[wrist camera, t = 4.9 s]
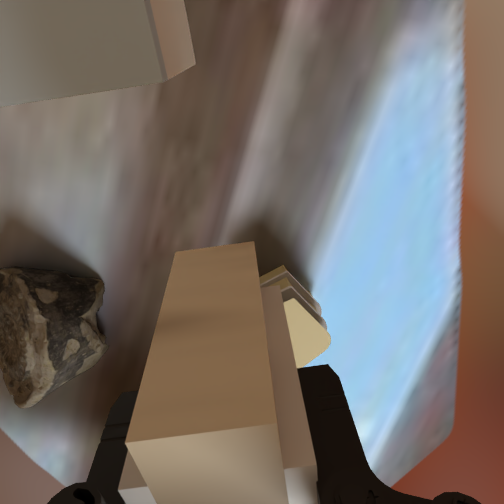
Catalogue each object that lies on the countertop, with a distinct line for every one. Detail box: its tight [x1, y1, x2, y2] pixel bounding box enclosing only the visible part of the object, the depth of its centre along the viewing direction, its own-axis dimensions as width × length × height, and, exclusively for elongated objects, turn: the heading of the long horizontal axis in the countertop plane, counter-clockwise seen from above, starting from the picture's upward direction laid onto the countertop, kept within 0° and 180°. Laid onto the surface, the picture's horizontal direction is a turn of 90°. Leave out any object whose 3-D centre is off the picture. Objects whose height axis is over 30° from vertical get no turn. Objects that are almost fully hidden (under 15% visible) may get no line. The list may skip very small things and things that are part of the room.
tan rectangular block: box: [125, 241, 289, 504], centre depth 11 cm, size 6×3×7 cm, turn 7°
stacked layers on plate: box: [259, 265, 331, 368], centre depth 30 cm, size 10×9×6 cm
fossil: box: [0, 267, 109, 408], centre depth 28 cm, size 11×9×10 cm
